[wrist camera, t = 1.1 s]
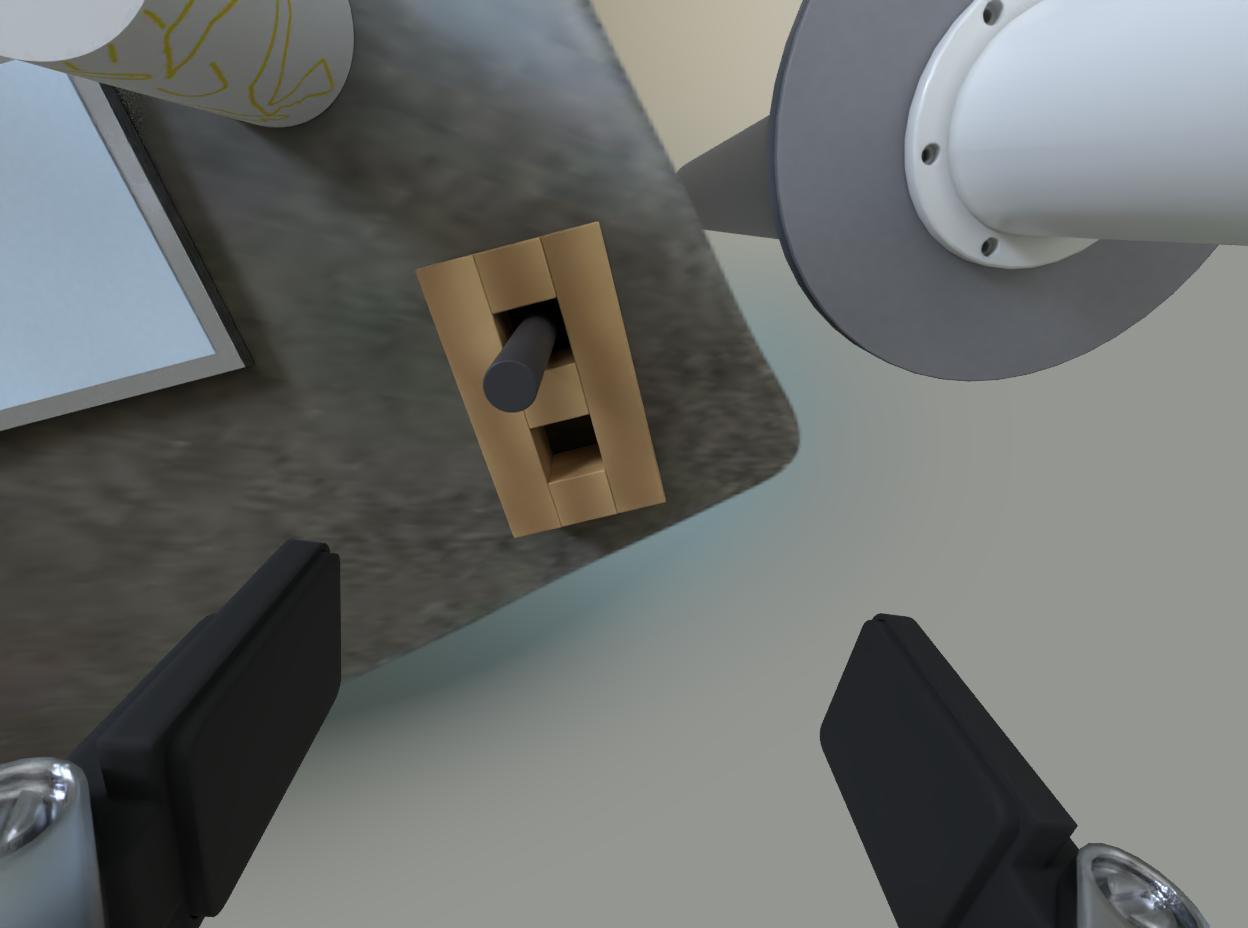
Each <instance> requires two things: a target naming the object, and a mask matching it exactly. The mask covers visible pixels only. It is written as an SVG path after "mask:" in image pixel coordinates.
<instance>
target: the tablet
mask: <svg viewBox="0 0 1248 928" xmlns="http://www.w3.org/2000/svg"><path fill="white" fill-rule="evenodd" d="M252 364H254V362H253V360H252V358H251V356H250V354H249V352H248V350H247V348H246V346H245V344H244V342H243V340H242V338H241V336H240V334H239V332H238V330H237V328H236V326H235V324H234V322H233V320H232V318H231V316H230V314H229V313H228V311H227V309H226V307H225V305H224V303H223V301H222V299H221V297H220V295H219V293H218V291H217V289H216V287H215V285H214V283H213V281H212V279H211V277H210V275H209V273H208V271H207V269H206V267H205V265H204V263H203V261H202V259H201V258H200V256H199V254H198V252H197V250H196V248H195V246H194V244H193V242H192V240H191V238H190V236H189V234H188V232H187V230H186V228H185V226H184V224H183V222H182V220H181V218H180V216H179V214H178V212H177V210H176V208H175V206H174V205H173V203H172V201H171V199H170V197H169V195H168V193H167V191H166V189H165V187H164V185H163V183H162V181H161V179H160V177H159V175H158V173H157V171H156V169H155V167H154V165H153V163H152V161H151V159H150V157H149V155H148V153H147V151H146V150H145V148H144V146H143V144H142V142H141V140H140V138H139V136H138V134H137V132H136V130H135V128H134V126H133V124H132V122H131V120H130V118H129V116H128V114H127V112H126V110H125V108H124V106H123V104H122V102H121V100H120V98H119V96H118V95H117V93H116V91H115V89H114V87H113V86H111V85H107V84H104V83H100V82H96V81H93V80H89V79H85V78H81V77H78V76H74V75H70V74H67V73H63V72H59V71H56V70H52V69H48V68H44V67H41V66H37V65H33V64H30V63H26V62H22V61H19V60H15V59H11V58H7V57H4V56H0V431H3V430H7V429H10V428H14V427H18V426H22V425H26V424H30V423H34V422H37V421H41V420H45V419H49V418H53V417H57V416H60V415H64V414H68V413H72V412H76V411H80V410H83V409H87V408H91V407H95V406H99V405H103V404H107V403H110V402H114V401H118V400H122V399H126V398H130V397H133V396H137V395H141V394H145V393H149V392H153V391H156V390H160V389H164V388H168V387H172V386H176V385H180V384H183V383H187V382H191V381H195V380H199V379H203V378H206V377H210V376H214V375H218V374H222V373H226V372H230V371H233V370H237V369H241V368H245V367H247V366H250V365H252Z"/></svg>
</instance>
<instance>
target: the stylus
mask: <svg viewBox="0 0 1248 928" xmlns="http://www.w3.org/2000/svg"><path fill="white" fill-rule="evenodd" d="M557 333H558V322H557V320H556V318H555V316H554V315H553V314H552V313H551V312H549V311H547V310H544V309H535V310H532V311H530V312H529V313H528V314H527V315H526V316H525V318H524V319H523V320H522V322H521V323H520V325H519V326H518V327H517V329H516V330H515V332H514V333H513V334H512V336H511V337H510V339H509V340H508V342H507V343H506V344H505V346H504V347H503V349H502V350H501V351H500V353H499V354H498V356H497V357H496V358H495V360H494V361H493V363H492V364H491V365H490V367H489V368H488V370H487V371H486V373H485V375H484V378H483V391H484V394H485V396H486V398H487V400H488V401H489V402H490V403H491V404H492V405H493V406H494V407H495V408H497V409H499V410H501V411H504V412H509V413H516V412H520V411H523V410H525V409H527V408H528V407H529V406H531V404H532V403H533V402H534V401H535V399H536V396H537V393H538V390H539V387H540V384H541V381H542V378H543V375H544V372H545V369H546V366H547V363H548V360H549V357H550V354H551V351H552V348H553V345H554V342H555V339H556V336H557Z"/></svg>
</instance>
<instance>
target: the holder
mask: <svg viewBox="0 0 1248 928" xmlns="http://www.w3.org/2000/svg"><path fill="white" fill-rule="evenodd" d="M415 272H416V275H417V277H418V280H419V283H420V286H421V288H422V291H423V294H424V296H425V299H426V302H427V304H428V307H429V310H430V313H431V315H432V318H433V321H434V323H435V326H436V329H437V331H438V334H439V337H440V339H441V342H442V345H443V348H444V350H445V353H446V356H447V358H448V361H449V364H450V366H451V369H452V372H453V375H454V377H455V380H456V383H457V385H458V388H459V391H460V393H461V396H462V399H463V401H464V404H465V407H466V410H467V412H468V415H469V418H470V420H471V423H472V426H473V428H474V431H475V434H476V437H477V439H478V442H479V445H480V447H481V450H482V453H483V455H484V458H485V461H486V463H487V466H488V469H489V472H490V474H491V477H492V480H493V482H494V485H495V488H496V490H497V493H498V496H499V499H500V501H501V504H502V507H503V509H504V512H505V515H506V517H507V520H508V523H509V525H510V528H511V531H512V534H513V536H514V538H518V537H522V536H526V535H531V534H535V533H539V532H543V531H547V530H552V529H556V528H560V527H564V526H568V525H572V524H576V523H581V522H585V521H589V520H593V519H597V518H602V517H606V516H610V515H614V514H617V512H618V513H623V512H627V511H631V510H635V509H639V508H644V507H648V506H652V505H656V504H661V503H665V502H666V498H665V494H664V490H663V485H662V481H661V477H660V473H659V469H658V465H657V460H656V456H655V452H654V448H653V444H652V440H651V436H650V431H649V427H648V423H647V419H646V415H645V411H644V406H643V402H642V398H641V394H640V390H639V386H638V382H637V377H636V373H635V369H634V365H633V361H632V357H631V352H630V348H629V344H628V340H627V336H626V332H625V327H624V323H623V319H622V315H621V311H620V307H619V303H618V298H617V294H616V290H615V286H614V282H613V278H612V273H611V269H610V265H609V261H608V257H607V253H606V249H605V244H604V240H603V236H602V232H601V228H600V224H599V221H594V222H590V223H587V224H583V225H579V226H575V227H572V228H568V229H564V230H560V231H557V232H553V233H549V234H546V235H541V236H538V237H534V238H530V239H526V240H523V241H519V242H515V243H511V244H508V245H504V246H500V247H496V248H493V249H489V250H485V251H481V252H477V253H474V254H470V255H466V256H462V257H459V258H455V259H451V260H447V261H444V262H440V263H436V264H433V265H430V266H426V267H423V268H419V269H416V270H415ZM556 297H557V299H558V303H559V307H560V310H561V314H562V317H563V321H564V324H565V328H566V331H567V335H568V339H569V342H570V346H571V347H570V348H566V349H562V350H558V351H554V352H551V354H550V357H549V360H548V363H547V366H546V369H545V372H544V375H543V378H542V381H541V384H540V387H539V390H538V393H537V396H536V399H535V401H534V402H533V403H532V404H531V406H529V407H528V408H527V409H525V410H523V411H520V412H516V413H509V412H504V411H501V410H499V409H497V408H495V407H494V406H493V405H492V404H491V403H490V402H489V401H488V400H487V398H486V396H485V394H484V391H483V378H484V375H485V373H486V371H487V370H488V368H489V367H490V365H491V364H492V363H493V361H494V360H495V358H496V357H497V356H498V354H499V353H500V351H501V350H502V349H503V347H504V346H505V344H506V343H507V342H508V340H509V339H510V337H511V336H512V334H513V333H514V330H513V327H512V324H511V320H510V317H509V314H508V310H512V309H515V308H519V307H523V306H527V305H531V304H535V303H539V302H542V301H546V300H550V299H554V298H556ZM589 413H590V417H591V420H592V424H593V427H594V431H595V434H596V438H597V442H598V443H597V444H593V445H589V446H585V447H581V448H577V449H573V450H569V451H565V452H561V453H556V454H554V455H553V452H552V449H551V446H550V443H549V440H548V437H547V434H546V430H545V427H544V425H548V424H552V423H556V422H560V421H564V420H568V419H572V418H576V417H580V416H584V415H588V414H589Z"/></svg>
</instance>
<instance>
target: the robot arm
mask: <svg viewBox="0 0 1248 928" xmlns="http://www.w3.org/2000/svg"><path fill="white" fill-rule="evenodd" d="M983 14H984V15H985V22H984V19H983ZM922 151H924V152H925V154H926V156H925V159H924V161H922V157H921V156H922ZM905 173H906V179H907V184H908V190H909V194H910V197H911V199H912V202H913V205H914V207H915V210H916V212H917V215H918V217H919V218H920V220H921V221H922V223H923V224H924V226H925V227H926V229H927V230H928V232H929V233H930V235H931V236H932V237H933V238H934V239H935V240H937V241H938V242H939V243H940V244H941V245H942V246H943V247H944V248H945V249H946V250H947V251H949V252H951V253H953V254H955V255H957V256H958V257H960V258H962V259H964V260H966V261H969V262H972V263H976V264H980V265H983V266H987V267H996V268H1005V269H1020V268H1034V267H1038V266H1042V265H1046V264H1050V263H1054V262H1058V261H1060V260H1062V259H1064V258H1067V257H1069V256H1071V255H1073V254H1076V253H1078V252H1080V251H1082V250H1084V249H1085V248H1087V247H1089V246H1090V245H1092V244H1093V243H1095V242H1096V241H1098V240H1099V239H1112V240H1133V241H1155V242H1177V243H1199V244H1222V245H1244V246H1248V0H974V1H973V2H972V3H971V4H970V5H969V6H968V7H967V8H966V9H965V10H964V11H963V12H962V14H961V15H960V16H959V17H958V18H957V19H956V20H955V21H954V22H953V24H952V25H951V26H950V28H949V29H948V31H947V32H946V33H945V35H944V36H943V38H942V39H941V41H940V42H939V43H938V45H937V46H936V48H935V49H934V51H933V53H932V55H931V57H930V59H929V61H928V63H927V65H926V67H925V69H924V71H923V73H922V75H921V77H920V79H919V82H918V85H917V88H916V91H915V94H914V97H913V100H912V103H911V106H910V110H909V116H908V122H907V128H906V134H905ZM983 244H984V246H983V249H982V245H983ZM981 249H982V250H981ZM340 682H341V611H340V558H339V555H338V554H335V553H330V549H329V546H328V545H327V544H326V543H318V542H310V541H302V540H294V539H290V540H287V541H286V542H285V543H284V544H283V545H282V546H281V547H280V548H279V549H278V550H277V551H276V552H275V553H274V554H273V555H272V556H271V557H270V558H269V559H268V560H267V562H266V563H265V564H264V565H263V566H262V567H261V568H260V569H259V570H258V571H257V572H256V573H255V574H254V575H253V576H252V577H251V578H250V579H249V580H248V581H247V582H246V584H245V585H244V586H243V587H242V588H241V589H240V590H239V591H238V592H237V593H236V594H235V595H234V596H233V597H232V598H231V599H230V600H229V601H228V602H227V603H226V605H225V606H224V607H223V608H222V609H221V610H220V611H219V612H218V613H217V614H212V615H209V616H206V617H205V618H204V619H203V620H201V621H200V622H199V623H198V624H197V625H196V626H195V627H194V628H193V629H192V630H191V631H190V632H189V633H188V634H187V635H186V636H185V637H184V638H183V639H182V640H181V641H180V642H179V643H178V644H177V645H176V646H175V647H174V648H173V649H172V650H171V651H170V652H169V653H168V655H167V656H166V657H165V658H164V659H163V660H162V661H161V662H160V663H159V664H158V665H157V666H156V667H155V668H154V669H153V670H152V671H151V672H150V673H149V674H148V675H147V676H146V677H145V678H144V679H143V680H142V681H141V682H140V683H139V684H138V685H137V686H136V687H135V688H134V689H133V690H132V691H131V692H130V693H129V694H128V695H127V696H126V698H125V699H124V700H123V701H122V702H121V703H120V704H119V705H118V706H117V707H116V708H115V709H114V710H113V711H112V712H111V713H110V714H109V715H108V716H107V717H106V718H105V719H104V720H103V721H102V722H101V723H100V724H99V725H98V726H97V727H96V728H95V729H94V730H93V731H92V732H91V733H90V734H89V735H88V736H87V737H86V738H85V739H84V740H83V742H82V743H81V744H80V745H79V746H78V747H77V748H76V749H75V750H74V751H73V752H72V753H71V754H70V755H69V756H68V757H67V758H66V759H59V758H53V757H39V758H28V759H20V760H17V761H13V762H9V763H5V764H1V765H0V928H199V926H200V925H201V923H202V921H203V919H204V917H215V916H216V915H218V913H219V912H220V911H221V910H222V909H223V907H224V905H225V904H226V902H227V900H228V899H229V897H230V895H231V893H232V891H233V889H234V887H235V885H236V884H237V882H238V880H239V878H240V876H241V874H242V873H243V871H244V869H245V867H246V865H247V863H248V861H249V859H250V858H251V856H252V854H253V852H254V850H255V848H256V846H257V845H258V843H259V841H260V839H261V837H262V835H263V833H264V832H265V830H266V828H267V826H268V824H269V822H270V820H271V819H272V817H273V815H274V813H275V811H276V809H277V807H278V805H279V804H280V802H281V800H282V798H283V796H284V794H285V793H286V791H287V789H288V787H289V785H290V783H291V781H292V780H293V778H294V776H295V774H296V772H297V770H298V768H299V767H300V765H301V763H302V761H303V759H304V757H305V755H306V753H307V752H308V750H309V748H310V746H311V744H312V742H313V740H314V739H315V737H316V735H317V733H318V731H319V729H320V727H321V726H322V724H323V722H324V720H325V718H326V716H327V714H328V713H329V710H330V709H331V707H332V705H333V703H334V701H335V699H336V697H337V694H338V691H339V687H340ZM820 742H821V746H822V749H823V752H824V754H825V756H826V759H827V761H828V763H829V766H830V768H831V770H832V773H833V775H834V777H835V780H836V782H837V784H838V787H839V789H840V791H841V794H842V796H843V798H844V801H845V803H846V805H847V808H848V810H849V812H850V814H851V817H852V819H853V822H854V824H855V826H856V829H857V831H858V834H859V836H860V838H861V841H862V843H863V845H864V847H865V850H866V852H867V854H868V857H869V859H870V862H871V864H872V866H873V869H874V871H875V873H876V876H877V878H878V880H879V883H880V885H881V887H882V890H883V892H884V894H885V897H886V899H887V901H888V904H889V906H890V908H891V911H892V913H893V915H894V918H895V920H896V922H897V925H898V927H899V928H1210V925H1209V924H1208V923H1207V921H1206V920H1205V918H1204V917H1203V915H1202V914H1201V913H1200V911H1199V910H1198V908H1197V907H1196V906H1195V905H1194V904H1193V903H1192V901H1191V900H1190V899H1189V898H1188V897H1187V896H1186V895H1185V894H1184V893H1183V892H1182V891H1181V890H1180V889H1179V888H1178V887H1177V886H1176V885H1175V884H1174V883H1172V882H1171V881H1170V880H1169V879H1167V878H1166V877H1165V876H1164V875H1163V874H1162V873H1161V872H1159V871H1158V870H1156V869H1155V868H1154V867H1152V866H1151V865H1149V864H1148V863H1146V862H1144V861H1143V860H1141V859H1140V858H1138V857H1136V856H1134V855H1132V854H1130V853H1128V852H1126V851H1124V850H1122V849H1120V848H1117V847H1114V846H1110V845H1107V844H1103V843H1088V844H1087V845H1085V846H1084V847H1082V848H1080V850H1079V849H1078V848H1077V846H1076V845H1075V844H1074V842H1073V841H1072V840H1071V838H1070V836H1071V835H1072V833H1073V832H1074V830H1075V829H1076V828H1077V824H1076V823H1075V821H1074V820H1073V819H1072V818H1071V817H1070V815H1069V814H1068V813H1067V812H1066V810H1065V809H1064V808H1063V806H1062V805H1061V804H1060V803H1059V801H1058V800H1057V799H1056V797H1054V795H1053V794H1052V793H1051V791H1050V790H1049V789H1048V788H1047V786H1046V785H1045V784H1044V782H1043V781H1042V780H1041V779H1040V777H1039V776H1038V775H1037V774H1036V772H1035V771H1034V770H1033V769H1032V767H1031V766H1030V765H1029V763H1027V761H1026V760H1025V759H1024V757H1023V756H1022V755H1021V754H1020V752H1019V751H1018V750H1017V748H1016V747H1015V746H1014V745H1013V743H1012V742H1011V741H1010V740H1009V738H1008V737H1007V736H1006V734H1005V733H1004V732H1003V731H1002V729H1001V728H1000V727H999V726H998V724H996V722H995V721H994V720H993V718H992V717H991V716H990V714H989V713H988V712H987V711H986V710H985V708H984V707H983V705H982V704H981V703H980V702H979V700H978V699H977V698H976V697H975V695H974V694H973V693H972V692H971V690H970V689H969V688H968V687H967V685H966V684H965V683H964V682H963V680H962V679H961V678H960V677H959V675H958V674H957V673H956V671H955V670H954V669H953V668H952V666H951V665H950V664H949V663H948V662H947V660H946V659H945V658H944V656H943V655H942V654H941V653H940V651H939V650H938V649H937V648H936V646H935V645H934V644H933V642H932V641H931V640H930V639H929V637H928V636H927V635H926V634H925V632H924V631H923V630H922V629H921V627H920V626H919V625H918V624H917V622H916V621H915V620H914V619H912V618H910V617H906V616H898V615H890V614H882V613H880V614H877V615H876V616H874V617H873V619H872V620H868V621H866V622H865V623H864V625H863V627H862V629H861V632H860V634H859V636H858V639H857V641H856V644H855V646H854V649H853V651H852V653H851V656H850V658H849V660H848V663H847V665H846V668H845V670H844V672H843V675H842V677H841V680H840V682H839V684H838V687H837V689H836V692H835V694H834V696H833V699H832V701H831V703H830V706H829V708H828V711H827V713H826V715H825V718H824V720H823V723H822V725H821V729H820Z"/></svg>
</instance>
